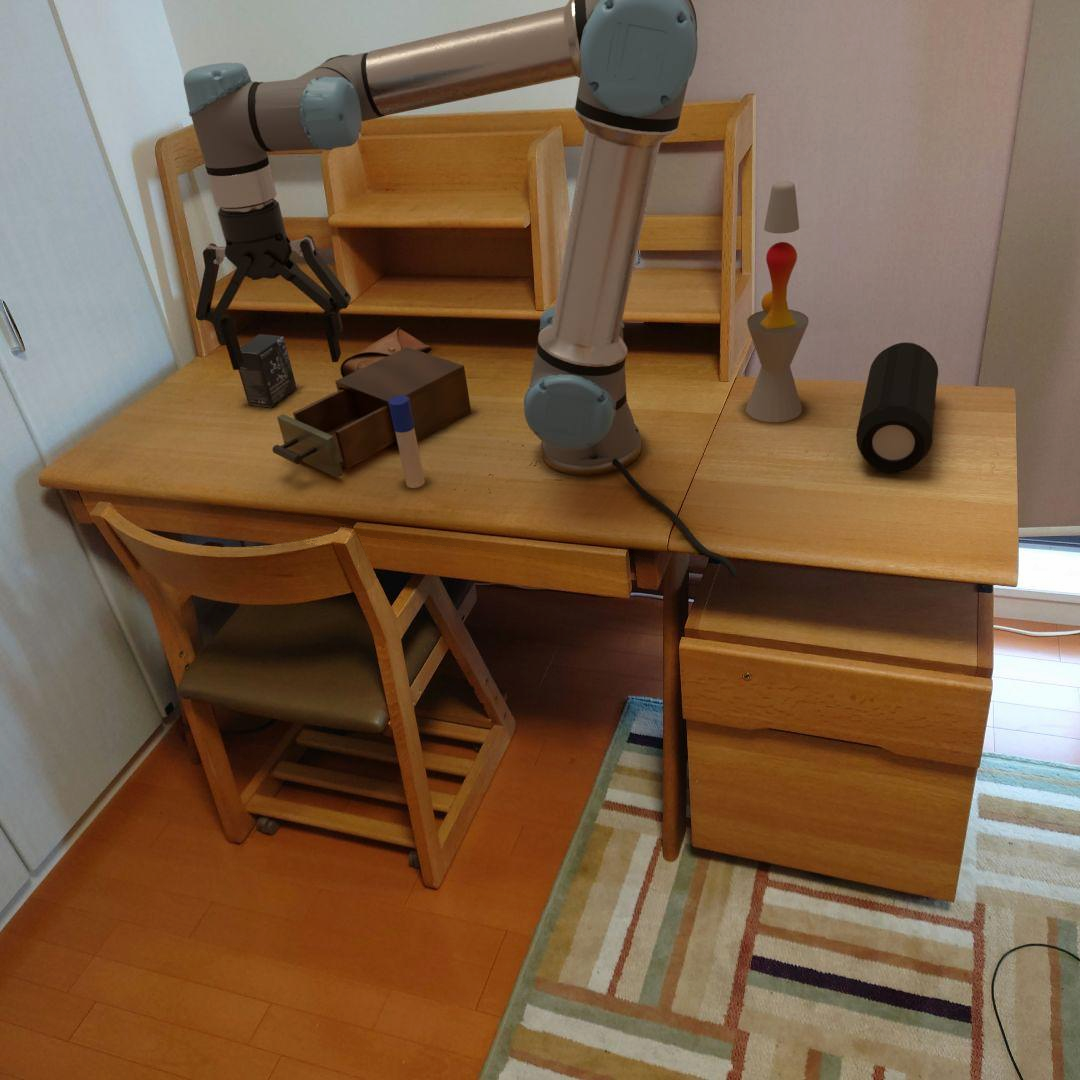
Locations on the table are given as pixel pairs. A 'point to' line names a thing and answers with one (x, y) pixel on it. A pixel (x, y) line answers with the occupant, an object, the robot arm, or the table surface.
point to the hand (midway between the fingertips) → (287, 362)
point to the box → (266, 370)
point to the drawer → (336, 432)
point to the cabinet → (415, 388)
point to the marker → (406, 440)
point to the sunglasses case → (381, 351)
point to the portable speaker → (898, 408)
